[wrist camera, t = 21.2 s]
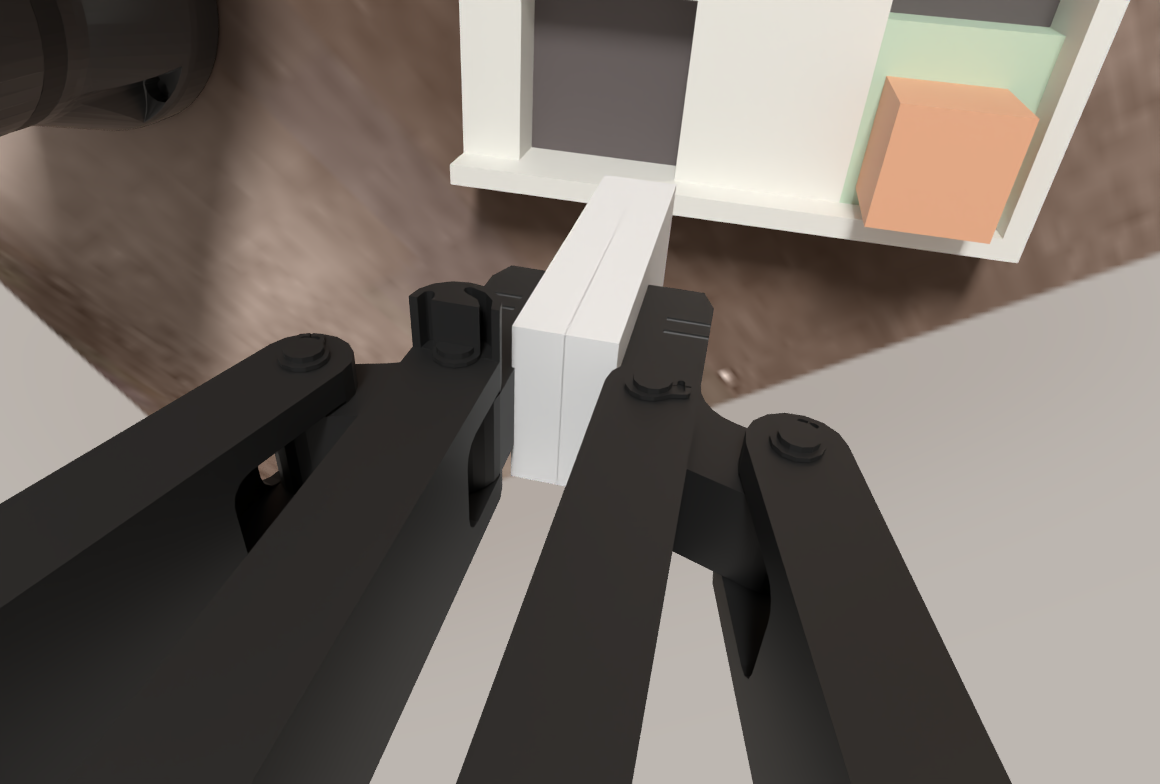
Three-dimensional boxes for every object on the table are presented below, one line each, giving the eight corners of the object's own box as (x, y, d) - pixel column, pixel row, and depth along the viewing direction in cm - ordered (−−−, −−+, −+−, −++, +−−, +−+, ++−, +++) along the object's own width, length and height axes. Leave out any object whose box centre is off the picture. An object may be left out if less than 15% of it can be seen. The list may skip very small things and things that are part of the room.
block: (855, 187, 36) (864, 226, 32) (886, 75, 33) (900, 103, 29) (966, 202, 35) (989, 244, 31) (1007, 89, 32) (1039, 119, 28)
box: (479, 157, 42) (450, 184, 38) (472, -274, 31) (431, -294, 28) (995, 226, 38) (1017, 263, 34) (1181, -243, 27) (1242, -262, 24)
